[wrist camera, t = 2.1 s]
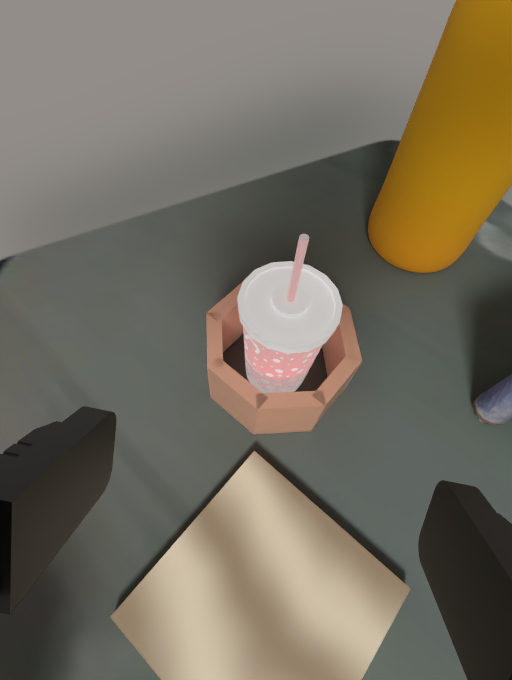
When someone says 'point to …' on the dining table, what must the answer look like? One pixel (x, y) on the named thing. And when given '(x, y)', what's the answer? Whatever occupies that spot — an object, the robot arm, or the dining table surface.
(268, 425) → the ceramic ring
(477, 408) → the flask
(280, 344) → the beverage cup
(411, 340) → the dining table surface
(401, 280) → the dining table surface
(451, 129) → the beer bottle
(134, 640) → the wooden coaster
